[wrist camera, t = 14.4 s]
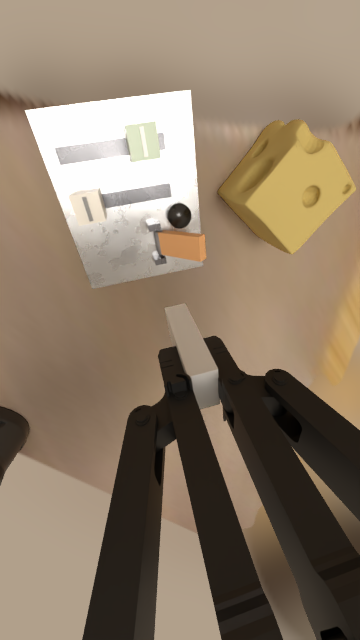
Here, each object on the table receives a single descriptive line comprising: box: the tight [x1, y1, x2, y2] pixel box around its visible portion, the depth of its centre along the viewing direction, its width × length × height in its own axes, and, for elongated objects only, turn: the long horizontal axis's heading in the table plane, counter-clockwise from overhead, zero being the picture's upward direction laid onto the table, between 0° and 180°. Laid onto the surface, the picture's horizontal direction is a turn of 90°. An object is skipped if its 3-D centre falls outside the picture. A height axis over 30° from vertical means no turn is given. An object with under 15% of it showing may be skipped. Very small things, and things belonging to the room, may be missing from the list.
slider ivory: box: [69, 188, 107, 226], centre depth 27 cm, size 3×3×4 cm
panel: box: [25, 90, 203, 289], centre depth 30 cm, size 17×20×4 cm
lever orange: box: [154, 230, 206, 262], centre depth 31 cm, size 1×3×8 cm
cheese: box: [218, 119, 356, 254], centre depth 31 cm, size 10×11×10 cm
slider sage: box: [124, 121, 161, 163], centre depth 25 cm, size 3×3×4 cm
